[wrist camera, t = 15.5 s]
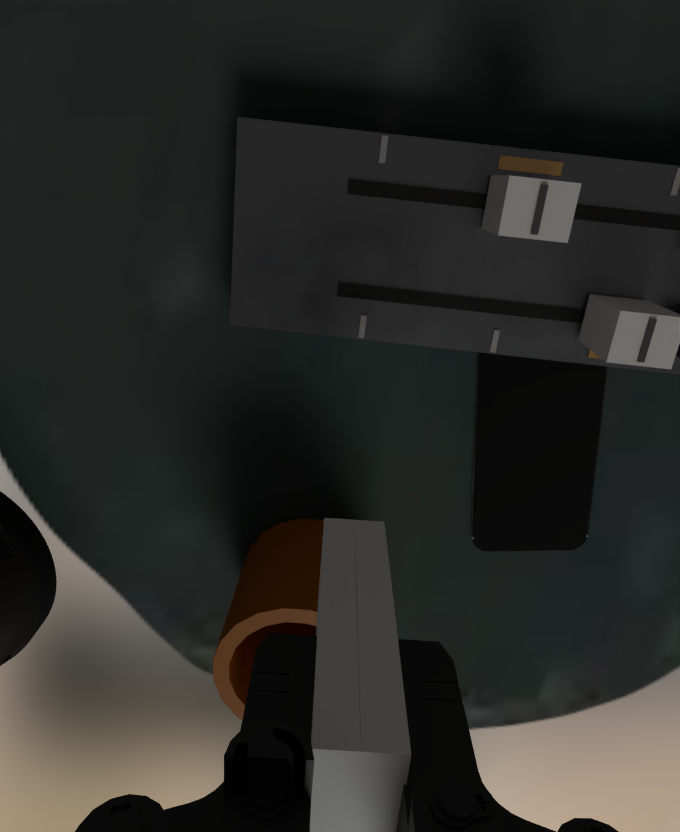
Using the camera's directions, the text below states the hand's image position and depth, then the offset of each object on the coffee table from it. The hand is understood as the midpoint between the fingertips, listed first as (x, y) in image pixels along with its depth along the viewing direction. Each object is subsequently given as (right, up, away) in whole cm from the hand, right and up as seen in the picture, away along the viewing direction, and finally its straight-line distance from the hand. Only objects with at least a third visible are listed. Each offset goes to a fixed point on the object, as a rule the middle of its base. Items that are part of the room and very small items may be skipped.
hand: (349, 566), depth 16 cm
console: (+8, +12, +17) cm, 23 cm away
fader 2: (+14, +9, +16) cm, 23 cm away
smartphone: (+11, +3, +21) cm, 24 cm away
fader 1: (+8, +14, +14) cm, 21 cm away
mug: (-2, -8, +26) cm, 27 cm away
